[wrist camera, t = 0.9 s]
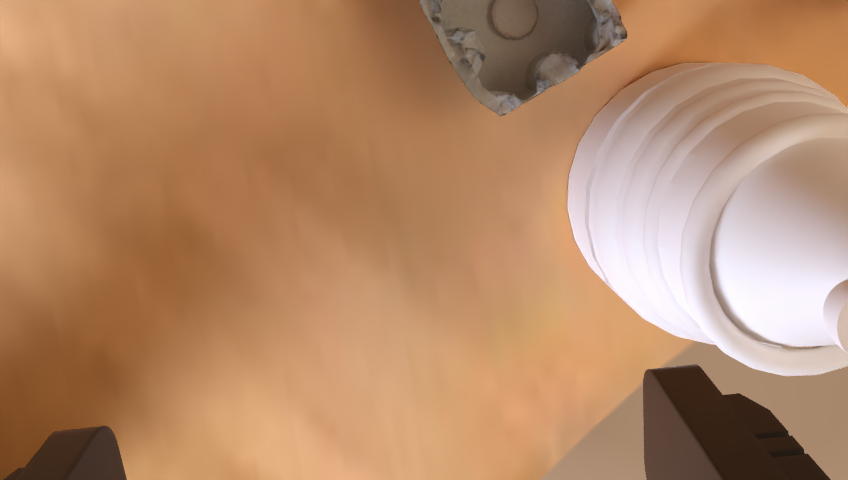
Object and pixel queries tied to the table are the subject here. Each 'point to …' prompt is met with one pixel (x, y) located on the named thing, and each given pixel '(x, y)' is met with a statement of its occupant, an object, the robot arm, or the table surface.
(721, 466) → the robot arm
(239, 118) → the table surface
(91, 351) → the table surface
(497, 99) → the egg carton
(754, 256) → the honey pot
